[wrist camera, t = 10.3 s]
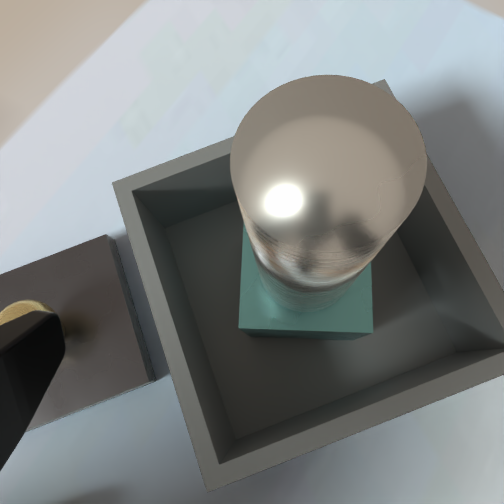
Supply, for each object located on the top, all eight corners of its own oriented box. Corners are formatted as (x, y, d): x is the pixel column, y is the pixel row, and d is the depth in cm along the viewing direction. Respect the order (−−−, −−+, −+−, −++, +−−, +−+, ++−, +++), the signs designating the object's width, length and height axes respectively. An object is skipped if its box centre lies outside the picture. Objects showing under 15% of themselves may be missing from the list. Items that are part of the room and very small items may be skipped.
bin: (471, 360, 18) (541, 359, 13) (228, 457, 17) (207, 492, 13) (361, 145, 21) (384, 79, 16) (153, 225, 20) (111, 182, 16)
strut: (352, 340, 18) (479, 295, 6) (249, 336, 18) (183, 286, 6) (350, 240, 19) (454, 42, 7) (253, 238, 19) (204, 48, 8)
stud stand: (156, 381, 18) (121, 385, 15) (6, 439, 18) (-68, 459, 14) (114, 240, 20) (74, 211, 16) (-22, 292, 20) (-94, 275, 16)
